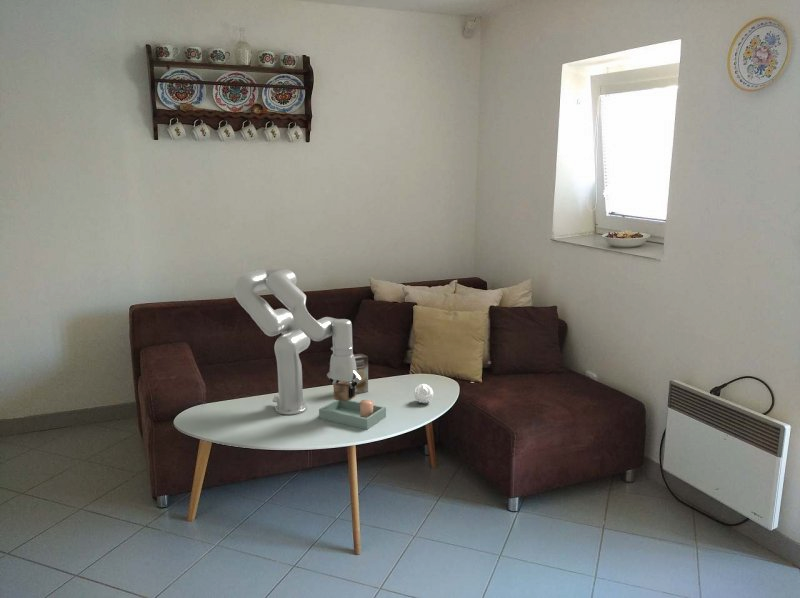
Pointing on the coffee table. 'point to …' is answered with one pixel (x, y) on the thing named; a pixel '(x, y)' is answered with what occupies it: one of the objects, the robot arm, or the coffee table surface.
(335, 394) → the walnut block
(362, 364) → the coffee box
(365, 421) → the tote
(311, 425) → the coffee table surface
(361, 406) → the terracotta cylinder
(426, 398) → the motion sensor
